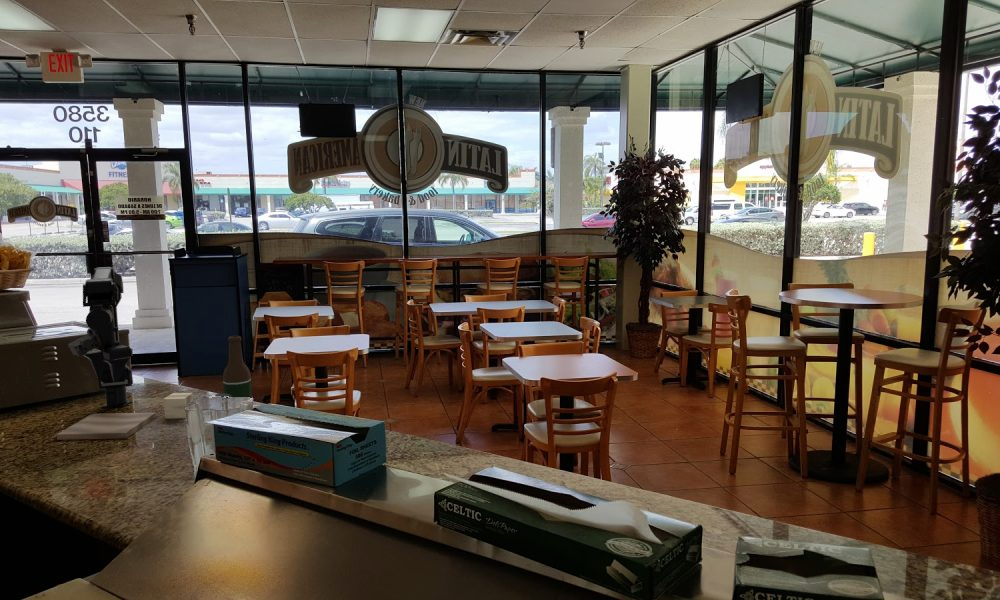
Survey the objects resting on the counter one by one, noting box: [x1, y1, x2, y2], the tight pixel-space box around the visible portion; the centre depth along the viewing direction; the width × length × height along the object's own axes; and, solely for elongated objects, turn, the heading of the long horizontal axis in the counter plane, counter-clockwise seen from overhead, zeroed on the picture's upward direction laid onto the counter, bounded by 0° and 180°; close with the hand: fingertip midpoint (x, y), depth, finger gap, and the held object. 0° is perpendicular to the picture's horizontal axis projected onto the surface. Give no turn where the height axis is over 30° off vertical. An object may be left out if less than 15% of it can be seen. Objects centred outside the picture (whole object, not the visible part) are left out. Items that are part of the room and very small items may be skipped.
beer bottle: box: [222, 335, 253, 399], centre depth 200 cm, size 8×8×24 cm
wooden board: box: [56, 412, 157, 441], centre depth 191 cm, size 18×18×2 cm
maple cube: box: [163, 392, 194, 419], centre depth 202 cm, size 6×6×6 cm
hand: (107, 379), depth 190 cm, fingers open, 9 cm apart
